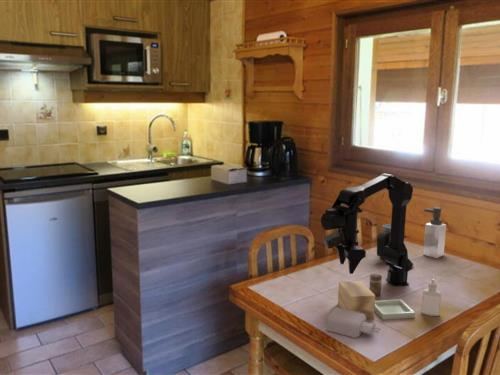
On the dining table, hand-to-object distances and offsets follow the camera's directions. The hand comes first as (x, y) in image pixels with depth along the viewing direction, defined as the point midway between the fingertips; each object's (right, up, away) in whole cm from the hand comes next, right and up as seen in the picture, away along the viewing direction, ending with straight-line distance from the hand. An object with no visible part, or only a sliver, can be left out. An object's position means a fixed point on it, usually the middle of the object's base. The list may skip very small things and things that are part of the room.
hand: (346, 268), depth 161 cm
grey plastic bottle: (-2, -16, -21) cm, 26 cm away
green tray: (+14, -13, -8) cm, 20 cm away
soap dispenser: (+49, -2, +49) cm, 69 cm away
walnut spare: (+12, -10, +6) cm, 16 cm away
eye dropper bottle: (+26, -13, -9) cm, 30 cm away
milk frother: (+30, -4, +39) cm, 49 cm away
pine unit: (+1, -13, -8) cm, 15 cm away
